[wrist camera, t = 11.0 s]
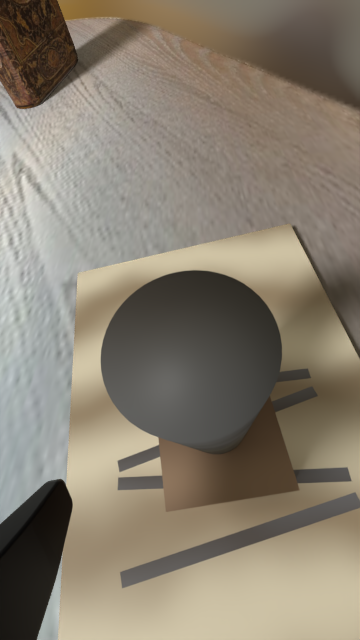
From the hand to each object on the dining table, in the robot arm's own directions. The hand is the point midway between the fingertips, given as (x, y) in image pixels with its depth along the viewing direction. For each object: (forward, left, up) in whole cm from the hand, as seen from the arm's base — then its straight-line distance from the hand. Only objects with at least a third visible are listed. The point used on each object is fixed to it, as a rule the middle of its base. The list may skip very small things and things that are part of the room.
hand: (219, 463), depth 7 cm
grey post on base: (+2, +1, -8) cm, 8 cm away
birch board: (+3, +2, -9) cm, 10 cm away
